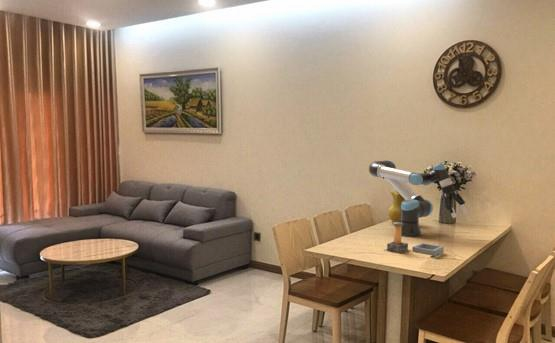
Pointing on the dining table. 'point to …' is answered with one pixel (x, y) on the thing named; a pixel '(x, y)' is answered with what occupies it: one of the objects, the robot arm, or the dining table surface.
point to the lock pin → (397, 232)
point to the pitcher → (396, 207)
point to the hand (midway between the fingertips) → (460, 215)
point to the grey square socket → (397, 248)
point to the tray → (429, 249)
